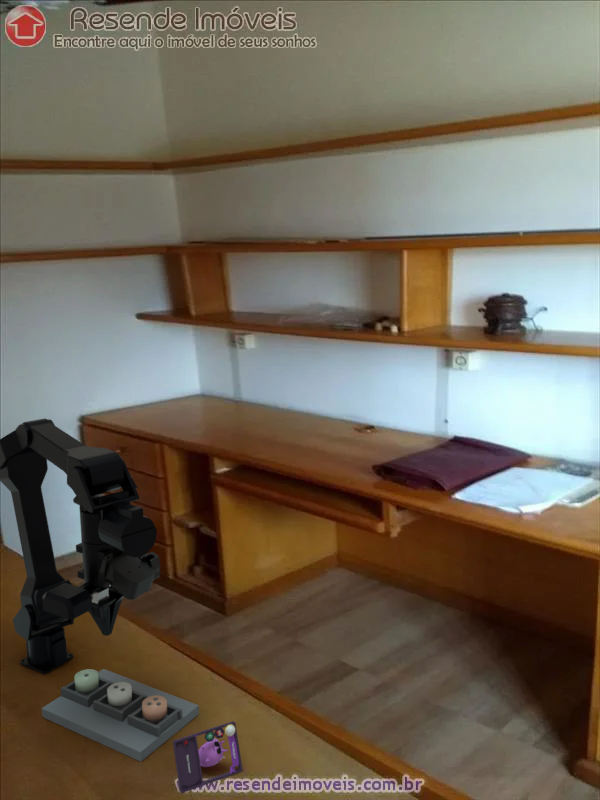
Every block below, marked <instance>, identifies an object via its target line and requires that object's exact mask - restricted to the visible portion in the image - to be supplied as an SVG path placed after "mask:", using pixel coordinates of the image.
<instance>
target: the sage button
mask: <svg viewBox="0 0 600 800" xmlns="http://www.w3.org/2000/svg"><path fill="white" fill-rule="evenodd" d="M98 672H99V671H97V670H95V669H92V668H91V669H90V668H87V669H82V670H80V671H78V672H76V673H75V675H74V680H75V689H76V690H77V691H79V692H90V691H93V690H95V689H96V688H97V687H98V686H99V678H98Z"/></svg>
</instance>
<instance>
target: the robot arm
mask: <svg viewBox="0 0 600 800" xmlns="http://www.w3.org/2000/svg"><path fill="white" fill-rule="evenodd" d="M48 462H50V463H52V464H53V465H54V466H56V467H57V468H58V469H59V470H61V471H63V472H64V473H65V475H66V485H67V486H68V487H69V488H70V489H71V490H72V491H73V493H74V494H75V497H74V498H73V499H72V501H73V503H74V504H76V505H77V506H79V517H80V518H79V519H80V521H79V522H80V534H81V536H80V537H81V542H80V543H78V544H75V552H77V553H80V554H82V555H81V556H82V567H83V568H82V569H78V570H77V579H82V580H84V581H83V582H84V583H82V584H80V585H77V586H76V585H74V584H72V583H71V582H70V580H69V579H65V578H64V577H63V576H62V575H61V574H60V573H59V571H58V569H57V565H56V559H55V553H54V549H53V544H52V538H51V533H50V527H49V523H48V522H49V521H48V516H47V512H46V506H45V502H44V496H43V495H44V494H43V491H42V489H43V488H42V485H43V482H44V480H45V477H46V475H47V472H48V470H49V467H48ZM0 482H1V484H3V486H4V487H5V488H6V489H8V491H10V494H11V499H12V503H13V510H14V515H15V520H16V525H17V526H16V527H17V532H18V537H19V541H20V546H21V552H22V557H23V562H24V567H25V572H26V579H25V581H24V584H23V587H22V589H21V591H20V595H19V597H20V605H21V607H20V609H19V610H18V611H17V613H16V615H15V616H14V617H13V618H12V623H13V626H14V627H13V628H14V631H15V633H16V634H17V635H19V636H20V637H22V638H23V639H24V640H25V645H26V647H25V648H26V657H23V659H20V661H19V664H20V665H22V666H24V667H26V668H29V669H30V670H34V671H36V672H37V673H38V672H39V673H40V674H48V673H50V672H52V671H53V670H56V669H57V668H58V667H60V666H61V665H62V666H63V664H65V663H67V662H68V661H70V660H72V659H73V658H74V654H73V653H71V652H69V651H68V649H67V647H68V646H67V639H66V635H65V634H66V633H65V627H68V626H71V625H74V622H75V619H76V618H78V617H80V616H82V615H84V614H86V613H87V612H88V613H89V614H90V616H91V617H92V619H93V621H94V622H95V625H96V626H97V627H98V629H99V631H100V632H101V634H102V635H103V636H105V637H108V636H111V634H112V633H113V630H114V626H115V623H116V620H117V617H118V613H119V610H120V608H121V605H122V602H123V600H124V598H125V599H126V600H130V601H131V600H134V601H135V600H137V599H138V597H140V596H141V595H143V594H145V593H148V592H150V591H151V588H152V585H153V582H154V581H155V580H156V579H158V578H160V576H161V573H160V570H161V563H160V556H159V554H157V553H155V552H154V551H151V550H152V548H153V546H154V544H155V543H156V540H157V537H158V530H157V527H156V526H155V523H154V521H153V520H152V519H150V518H149V517H148V516H145V515H144V508H143V507H141V506H138V505H133V504H131V503H132V502H137V501H139V500H140V495H139V494H138V491H137V489H138V486H137V484H136V482H135V480H134V478H133V477H132V475H131V473H130V472H129V469H128V467H127V465H126V462H125V460H124V459H123V458H122V457H121V455H120V454H119V453H118V452H117V451H115V450H111V449H109V448H106V447H97V446H88V445H85V443H82V442H81V441H79V440H78V439H76V438H75V437H73V436H71V435H70V433H69V434H68V433H67V432H65V431H64V430H62V429H61V428H60V427H57V426H56V425H55V423H54V421H53V420H52V419H49V418H48V419H47V418H39V419H34V420H28V421H24V422H22V423H20V424H19V425H17V427H16V428H15V430H13V431H11V432H9V433H8V434H6V435H4V436H3V437H2V438H0ZM120 489H122V490H121V491H117V490H120ZM113 491H117V492H113ZM110 492H113V493H110ZM105 493H110V494H105ZM150 551H151V552H150Z"/></svg>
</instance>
